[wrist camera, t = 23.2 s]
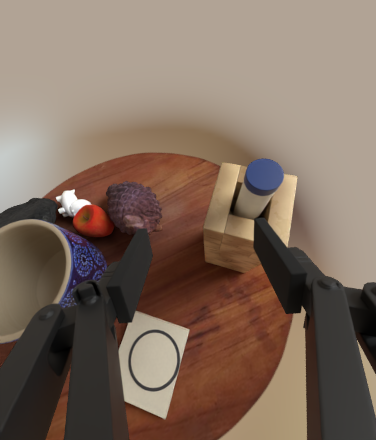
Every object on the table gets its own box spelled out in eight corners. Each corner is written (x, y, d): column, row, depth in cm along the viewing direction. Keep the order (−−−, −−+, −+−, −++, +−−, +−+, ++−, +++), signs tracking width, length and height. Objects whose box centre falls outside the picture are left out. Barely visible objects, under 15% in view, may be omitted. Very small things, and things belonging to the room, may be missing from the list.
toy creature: (57, 217, 41) (88, 207, 42) (52, 188, 44) (81, 179, 46) (68, 227, 45) (97, 217, 46) (63, 199, 48) (89, 191, 50)
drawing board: (189, 329, 36) (189, 330, 35) (166, 415, 32) (165, 419, 31) (134, 309, 38) (132, 310, 37) (106, 389, 34) (103, 392, 33)
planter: (85, 227, 45) (31, 197, 31) (134, 277, 40) (96, 269, 26) (24, 285, 42) (-67, 280, 28) (70, 347, 37) (-13, 380, 23)
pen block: (252, 234, 41) (297, 176, 21) (244, 273, 39) (287, 249, 18) (214, 225, 43) (221, 161, 22) (204, 261, 40) (202, 228, 20)
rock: (75, 203, 48) (51, 180, 43) (71, 239, 37) (38, 213, 33) (16, 237, 47) (-14, 217, 42) (-5, 284, 36) (-48, 264, 32)
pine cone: (95, 212, 46) (87, 172, 40) (134, 200, 52) (132, 163, 46) (134, 261, 36) (131, 218, 30) (177, 240, 42) (181, 200, 36)
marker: (252, 219, 28) (286, 162, 16) (247, 238, 27) (281, 194, 15) (231, 214, 28) (249, 155, 16) (226, 233, 28) (242, 185, 15)
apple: (97, 248, 43) (68, 236, 37) (94, 224, 46) (67, 210, 40) (122, 235, 42) (97, 221, 36) (117, 212, 45) (93, 195, 39)
